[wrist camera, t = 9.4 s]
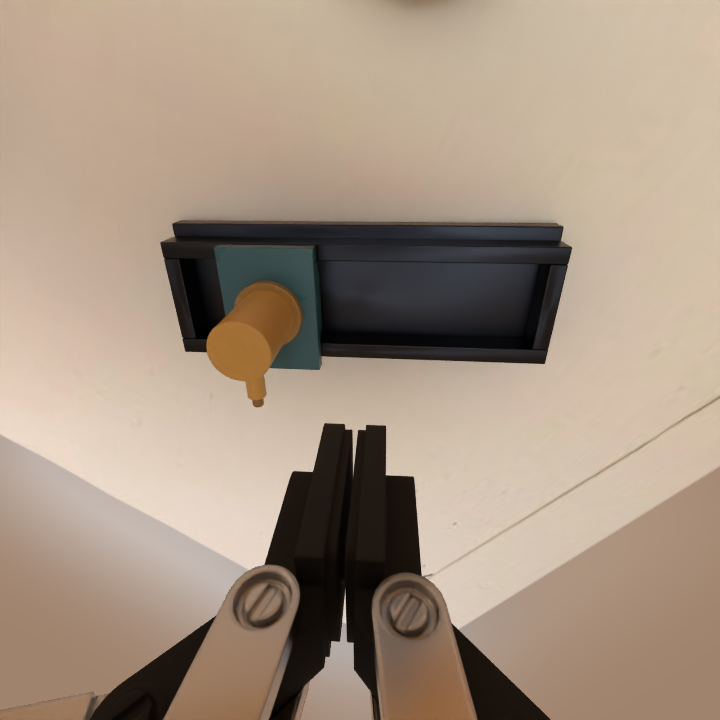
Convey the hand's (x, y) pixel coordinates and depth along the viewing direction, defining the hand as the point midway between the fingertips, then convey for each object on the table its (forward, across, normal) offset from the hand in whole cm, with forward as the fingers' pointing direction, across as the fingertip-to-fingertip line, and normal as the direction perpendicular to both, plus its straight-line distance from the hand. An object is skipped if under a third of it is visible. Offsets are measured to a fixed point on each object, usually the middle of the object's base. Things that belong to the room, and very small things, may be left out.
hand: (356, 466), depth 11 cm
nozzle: (+17, +6, +1) cm, 18 cm away
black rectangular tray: (+18, +1, +1) cm, 18 cm away
